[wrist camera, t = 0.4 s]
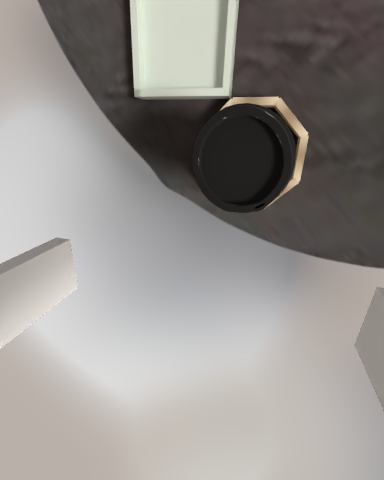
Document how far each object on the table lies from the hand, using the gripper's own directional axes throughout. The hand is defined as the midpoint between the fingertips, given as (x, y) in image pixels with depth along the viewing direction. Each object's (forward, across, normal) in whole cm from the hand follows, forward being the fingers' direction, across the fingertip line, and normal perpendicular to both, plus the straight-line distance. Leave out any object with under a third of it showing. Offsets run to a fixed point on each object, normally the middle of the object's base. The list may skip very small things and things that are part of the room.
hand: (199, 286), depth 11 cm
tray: (+25, -9, +17) cm, 32 cm away
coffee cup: (+25, 0, +4) cm, 26 cm away
